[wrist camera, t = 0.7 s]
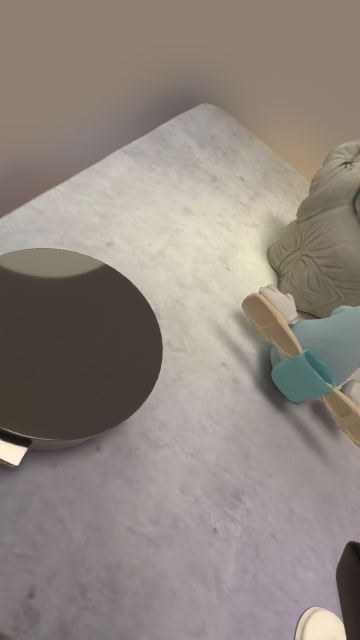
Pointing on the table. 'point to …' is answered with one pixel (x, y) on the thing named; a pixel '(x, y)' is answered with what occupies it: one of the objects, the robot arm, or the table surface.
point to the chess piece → (320, 626)
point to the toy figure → (312, 354)
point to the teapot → (324, 239)
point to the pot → (70, 350)
